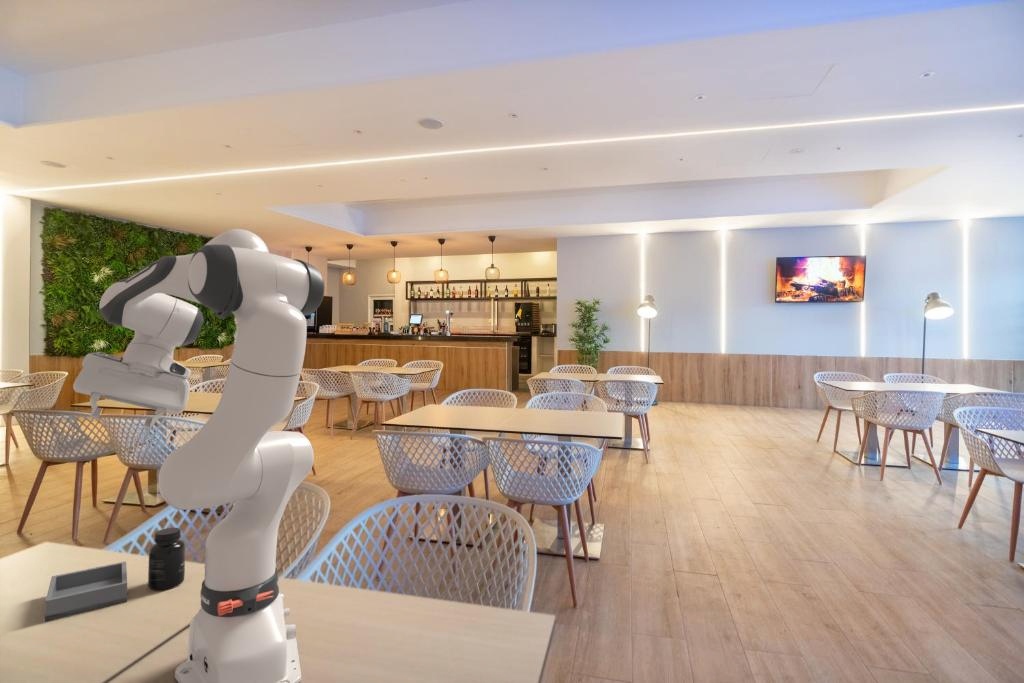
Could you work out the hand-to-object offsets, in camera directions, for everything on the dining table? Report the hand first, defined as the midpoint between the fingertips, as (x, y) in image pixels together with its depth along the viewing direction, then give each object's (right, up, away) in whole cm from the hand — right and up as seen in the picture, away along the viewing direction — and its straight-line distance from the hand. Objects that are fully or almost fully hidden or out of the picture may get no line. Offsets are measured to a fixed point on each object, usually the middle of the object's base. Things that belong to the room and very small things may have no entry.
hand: (121, 422), depth 105 cm
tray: (-8, -38, +1) cm, 38 cm away
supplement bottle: (+4, -38, +8) cm, 39 cm away
